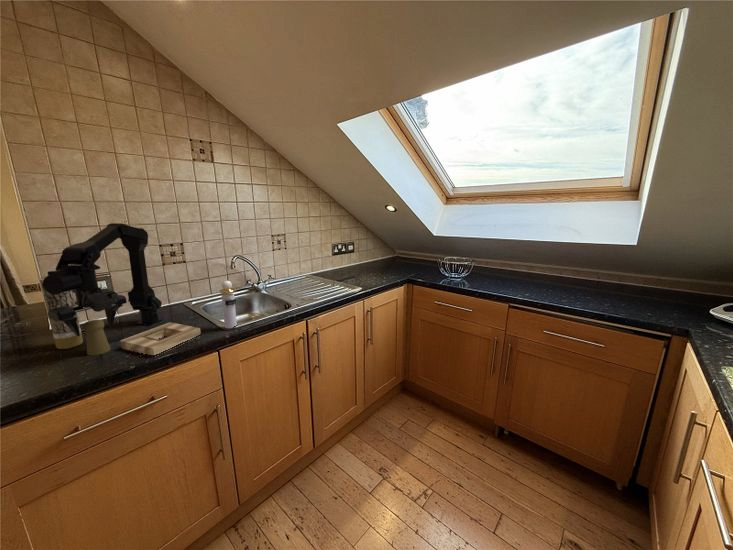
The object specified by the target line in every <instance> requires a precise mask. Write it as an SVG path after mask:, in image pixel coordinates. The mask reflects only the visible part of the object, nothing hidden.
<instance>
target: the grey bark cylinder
mask: <svg viewBox="0 0 733 550" xmlns="http://www.w3.org/2000/svg"><path fill="white" fill-rule="evenodd" d="M47 276H48V275H46V276H41V277H39V281H40V286H41V290H42V294H43V297H44V302H45V307H46V311H47V313H48V312H49V310H50V309H54V308H58V307H62V306H66V307H71V308H72V307H76V306H77V305H75V302H76V300H75V297H74V296H75V295H74V293H73V292H72V290H71V291H67V292H64V293H61V294H57V295H54V294H50V293H48V292H47V291H46V290H45V289H44V287H43V284H42V283H43V280H44V279H45V277H47ZM78 315H79V314H78V312H77V313H76V315H75V316H74V317H77V325H78V328H79V332H80V336H76V335H75V334H74V333H73V331H72V330H71V329H70V328H69V327H68V326H67V325H66V324H65V323H63V322H62V321H58V320H54V319H49V318H48V319H49V324H50V328H51V332H52V336H53V340H54V344H55V348H57V349H59V350H67V349H71V348H76V347H78V346H80V345H82V344H83V342H84V340H83V335H82V330H81V325H80V321H79V320H80V319H79V316H78Z"/></svg>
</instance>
